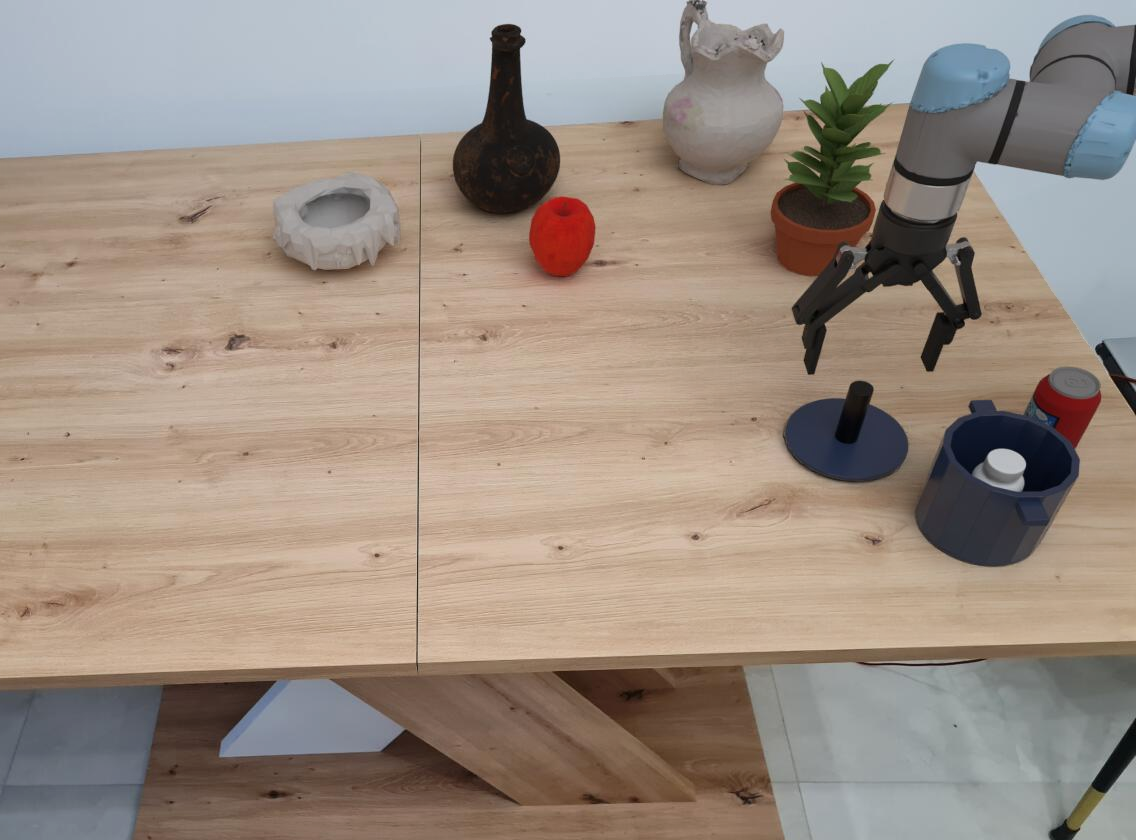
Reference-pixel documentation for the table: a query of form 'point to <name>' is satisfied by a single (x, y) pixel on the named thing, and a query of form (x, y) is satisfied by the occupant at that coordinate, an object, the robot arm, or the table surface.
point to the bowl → (336, 221)
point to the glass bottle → (506, 140)
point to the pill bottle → (1002, 470)
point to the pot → (984, 512)
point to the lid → (847, 436)
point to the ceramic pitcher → (722, 97)
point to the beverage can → (1066, 401)
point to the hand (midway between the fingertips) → (867, 366)
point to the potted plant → (828, 178)
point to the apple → (562, 235)
